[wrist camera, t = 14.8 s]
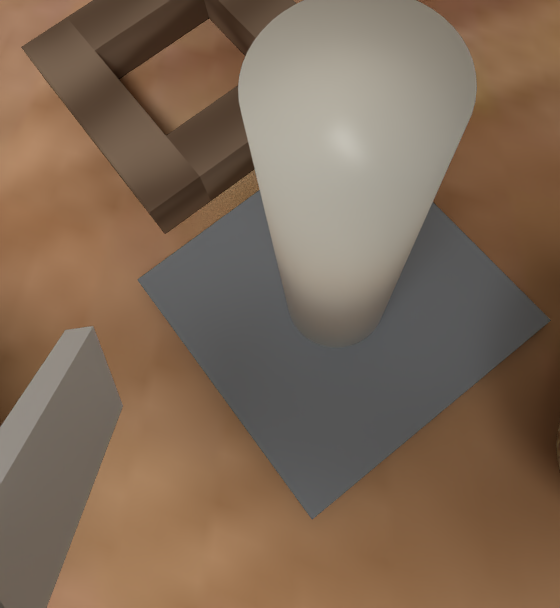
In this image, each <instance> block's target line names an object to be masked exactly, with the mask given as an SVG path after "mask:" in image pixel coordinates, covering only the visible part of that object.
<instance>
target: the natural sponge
mask: <svg viewBox="0 0 560 608" xmlns="http://www.w3.org/2000/svg"><path fill="white" fill-rule="evenodd" d="M556 451H557V459H558V467H559V471H560V419H559V427H558V433H557V442H556Z"/></svg>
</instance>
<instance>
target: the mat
mask: <svg viewBox="0 0 560 608" xmlns="http://www.w3.org/2000/svg"><path fill="white" fill-rule="evenodd" d="M138 281H139V283H140V284H141V285H142V287H143V288H144V290H145V291H146V292H147V294H148V295H149V296H150V298H151V299H152V301H153V302H154V303H155V305H156V306H157V307H158V309H159V310H160V312H161V313H162V314H163V316H164V317H165V318H166V320H167V321H168V322H169V324H170V325H171V327H172V328H173V329H174V331H175V332H176V333H177V335H178V336H179V338H180V339H181V340H182V342H183V343H184V344H185V346H186V347H187V349H188V350H189V351H190V353H191V354H192V355H193V357H194V358H195V360H196V361H197V362H198V364H199V365H200V366H201V368H202V369H203V371H204V372H205V373H206V375H207V376H208V377H209V379H210V380H211V382H212V383H213V384H214V386H215V387H216V388H217V390H218V391H219V392H220V394H221V395H222V397H223V398H224V399H225V401H226V402H227V403H228V405H229V406H230V408H231V409H232V410H233V412H234V413H235V414H236V416H237V417H238V419H239V420H240V421H241V423H242V424H243V425H244V427H245V428H246V430H247V431H248V432H249V434H250V435H251V436H252V438H253V439H254V441H255V442H256V443H257V445H258V446H259V447H260V449H261V450H262V452H263V453H264V454H265V456H266V457H267V458H268V460H269V461H270V463H271V464H272V465H273V467H274V468H275V469H276V471H277V472H278V473H279V475H280V476H281V478H282V479H283V480H284V482H285V483H286V484H287V486H288V487H289V489H290V490H291V491H292V493H293V494H294V495H295V497H296V498H297V500H298V501H299V502H300V504H301V505H302V506H303V508H304V509H305V511H306V512H307V513H308V515H309V516H310V517H311V519H313V518H315V517H316V516H317V515H318V514H319V513H321V512H322V511H323V510H324V509H325V508H327V507H328V506H329V505H330V504H331V503H333V502H334V501H335V500H336V499H337V498H339V497H340V496H341V495H342V494H343V493H345V492H346V491H347V490H348V489H349V488H351V487H352V486H353V485H354V484H355V483H357V482H358V481H359V480H360V479H361V478H363V477H364V476H365V475H366V474H367V473H369V472H370V471H371V470H372V469H373V468H375V467H376V466H377V465H378V464H379V463H381V462H382V461H383V460H384V459H385V458H387V457H388V456H389V455H390V454H391V453H393V452H394V451H395V450H396V449H397V448H399V447H400V446H401V445H402V444H403V443H405V442H406V441H407V440H408V439H409V438H411V437H412V436H413V435H414V434H415V433H417V432H418V431H419V430H420V429H421V428H423V427H424V426H425V425H426V424H427V423H429V422H430V421H431V420H432V419H433V418H435V417H436V416H437V415H438V414H439V413H441V412H442V411H443V410H444V409H445V408H447V407H448V406H449V405H450V404H451V403H453V402H454V401H455V400H456V399H457V398H459V397H460V396H461V395H462V394H463V393H465V392H466V391H467V390H468V389H469V388H471V387H472V386H473V385H474V384H475V383H477V382H478V381H479V380H480V379H481V378H482V377H484V376H485V375H486V374H487V373H488V372H490V371H491V370H492V369H493V368H494V367H496V366H497V365H498V364H499V363H500V362H502V361H503V360H504V359H505V358H506V357H508V356H509V355H510V354H511V353H512V352H514V351H515V350H516V349H517V348H518V347H520V346H521V345H522V344H523V343H524V342H526V341H527V340H528V339H529V338H530V337H532V336H533V335H534V334H535V333H536V332H538V331H539V330H540V329H541V328H542V327H544V326H545V325H546V324H547V323H548V322H550V321H551V320H550V319H549V318H548V317H547V316H546V315H545V314H544V313H543V312H542V311H541V310H540V309H539V308H538V307H537V306H536V305H535V304H534V303H533V302H532V301H531V300H530V299H529V298H528V297H527V296H526V295H525V294H524V293H523V292H522V291H521V290H520V289H519V288H518V287H517V286H516V285H515V284H514V283H513V282H512V281H511V280H510V279H509V278H508V277H507V276H506V275H505V274H504V273H503V272H502V271H501V270H500V269H499V268H498V267H497V266H496V265H495V264H494V263H493V262H492V261H491V260H490V259H489V258H488V257H487V256H486V255H485V254H484V253H483V252H482V251H481V250H480V249H479V248H478V247H477V246H476V245H475V244H474V243H473V242H472V241H471V240H470V239H469V238H468V237H467V236H466V235H465V234H464V233H463V232H462V231H461V230H460V229H459V228H458V227H457V226H456V225H455V224H454V223H453V222H452V221H451V220H450V219H449V218H448V217H447V216H446V215H445V214H444V213H443V212H442V211H441V210H440V209H439V208H438V207H437V206H436V205H435V204H434V203H433V202H432V205H431V207H430V209H429V211H428V214H427V216H426V218H425V220H424V223H423V225H422V227H421V229H420V232H419V234H418V236H417V238H416V241H415V243H414V245H413V247H412V250H411V252H410V254H409V256H408V259H407V261H406V263H405V265H404V268H403V270H402V272H401V274H400V277H399V279H398V281H397V283H396V286H395V288H394V290H393V292H392V295H391V297H390V299H389V301H388V304H387V306H386V308H385V310H384V313H383V315H382V317H381V319H380V322H379V323H378V325H377V327H376V328H375V329H374V331H373V332H372V333H371V334H370V335H369V336H368V337H366V338H365V339H363V340H362V341H360V342H358V343H356V344H353V345H351V346H346V347H338V348H335V347H326V346H322V345H319V344H317V343H314V342H312V341H311V340H309V339H307V338H306V337H305V336H304V335H302V334H301V332H300V331H299V330H298V329H297V328H296V326H295V325H294V323H293V321H292V319H291V316H290V314H289V310H288V305H287V301H286V297H285V293H284V289H283V285H282V281H281V276H280V272H279V268H278V264H277V260H276V256H275V251H274V247H273V243H272V239H271V235H270V231H269V226H268V222H267V218H266V214H265V210H264V206H263V201H262V197H261V193H260V190H259V191H258V192H256V193H255V194H254V195H252V196H251V197H249V198H248V199H247V200H245V201H244V202H243V203H241V204H240V205H239V206H237V207H236V208H234V209H233V210H232V211H230V212H229V213H228V214H226V215H225V216H224V217H222V218H221V219H219V220H218V221H217V222H215V223H214V224H213V225H211V226H210V227H209V228H207V229H206V230H204V231H203V232H202V233H200V234H199V235H198V236H196V237H195V238H194V239H192V240H191V241H189V242H188V243H187V244H185V245H184V246H183V247H181V248H180V249H178V250H177V251H176V252H174V253H173V254H172V255H170V256H169V257H168V258H166V259H165V260H163V261H162V262H161V263H159V264H158V265H157V266H155V267H154V268H153V269H151V270H150V271H148V272H147V273H146V274H144V275H143V276H142V277H140V278H139V279H138Z"/></svg>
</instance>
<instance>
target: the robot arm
mask: <svg viewBox="0 0 560 608" xmlns="http://www.w3.org/2000/svg"><path fill="white" fill-rule="evenodd" d="M122 407H123V405H122V402H121V400H120V397H119V394H118V391H117V389H116V386H115V383H114V381H113V378H112V375H111V373H110V370H109V367H108V364H107V362H106V359H105V356H104V354H103V351H102V348H101V346H100V343H99V340H98V338H97V335H96V332H95V329H94V327H93V326H90V327H83V328H76V329H69V330H65V332H64V333H63V335H62V336H61V337H60V339H59V340H58V342H57V343H56V345H55V346H54V348H53V349H52V351H51V352H50V354H49V355H48V357H47V358H46V360H45V361H44V363H43V364H42V366H41V367H40V369H39V370H38V372H37V373H36V375H35V376H34V378H33V379H32V381H31V382H30V384H29V385H28V387H27V388H26V389H25V391H24V392H23V394H22V395H21V397H20V398H19V400H18V401H17V403H16V404H15V406H14V407H13V409H12V410H11V412H10V413H9V415H8V416H7V418H6V419H5V421H4V422H3V424H2V425H1V427H0V608H47V605H48V602H49V600H50V597H51V595H52V592H53V589H54V587H55V584H56V581H57V579H58V576H59V573H60V571H61V568H62V565H63V563H64V560H65V558H66V555H67V552H68V550H69V547H70V544H71V542H72V539H73V536H74V534H75V531H76V529H77V526H78V523H79V521H80V518H81V515H82V513H83V510H84V507H85V505H86V502H87V500H88V497H89V494H90V492H91V489H92V486H93V484H94V481H95V478H96V476H97V473H98V470H99V468H100V465H101V463H102V460H103V457H104V455H105V452H106V449H107V447H108V444H109V441H110V439H111V436H112V434H113V431H114V428H115V426H116V423H117V420H118V418H119V415H120V412H121V410H122Z"/></svg>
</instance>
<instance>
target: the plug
mask: <svg viewBox="0 0 560 608" xmlns="http://www.w3.org/2000/svg"><path fill="white" fill-rule="evenodd" d="M476 90H477V84H476V72H475V68H474V63H473V60H472V57H471V55H470V52H469V49H468V48H467V46H466V44H465V42H464V41H463V39H462V37H461V36H460V35H459V33H458V32H457V31H456V30H455V28H454V27H453V26H452V25H451V24H450V23H449V22H448V21H447V20H446V19H445V18H444V17H442V16H441V15H440V14H438V13H437V12H436V11H434V10H433V9H431V8H430V7H428V6H426V5H424V4H423V3H421V2H419V1H416V0H304V1H302V2H299V3H297V4H295V5H293V6H292V7H290V8H289V9H287V10H285V11H284V12H282V13H281V14H280V15H278V16H277V17H276V18H274V19H273V20H272V21H271V22H270V23H269V24H268V25H267V26H266V27H265V28H264V29H263V30H262V31H261V32H260V34H259V35H258V36H257V37H256V39H255V40H254V41H253V43H252V45H251V47H250V48H249V50H248V52H247V54H246V56H245V59H244V61H243V64H242V68H241V71H240V75H239V85H238V96H239V105H240V109H241V114H242V118H243V122H244V127H245V131H246V135H247V139H248V143H249V147H250V152H251V156H252V160H253V164H254V168H255V172H256V177H257V181H258V185H259V189H260V193H261V197H262V201H263V206H264V210H265V214H266V218H267V222H268V226H269V231H270V235H271V239H272V243H273V247H274V251H275V256H276V260H277V264H278V268H279V272H280V276H281V281H282V285H283V289H284V293H285V297H286V301H287V305H288V310H289V314H290V316H291V319H292V321H293V323H294V325H295V326H296V328H297V329H298V330H299V331H300V332H301V334H302V335H304V336H305V337H306V338H307V339H309V340H311V341H312V342H314V343H317V344H319V345H322V346H326V347H335V348H338V347H346V346H351V345H353V344H356V343H358V342H360V341H362V340H363V339H365V338H366V337H368V336H369V335H370V334H371V333H372V332H373V331H374V329H375V328H376V327H377V325H378V323H379V322H380V319H381V317H382V315H383V313H384V310H385V308H386V306H387V304H388V301H389V299H390V297H391V295H392V292H393V290H394V288H395V286H396V283H397V281H398V279H399V277H400V274H401V272H402V270H403V268H404V265H405V263H406V261H407V259H408V256H409V254H410V252H411V250H412V247H413V245H414V243H415V241H416V238H417V236H418V234H419V232H420V229H421V227H422V225H423V223H424V220H425V218H426V216H427V214H428V211H429V209H430V207H431V205H432V202H433V200H434V198H435V196H436V193H437V191H438V189H439V187H440V185H441V182H442V180H443V178H444V176H445V173H446V171H447V169H448V167H449V164H450V162H451V160H452V158H453V155H454V153H455V151H456V149H457V146H458V144H459V142H460V140H461V137H462V135H463V133H464V131H465V128H466V126H467V124H468V122H469V119H470V117H471V115H472V111H473V108H474V104H475V99H476Z"/></svg>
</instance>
